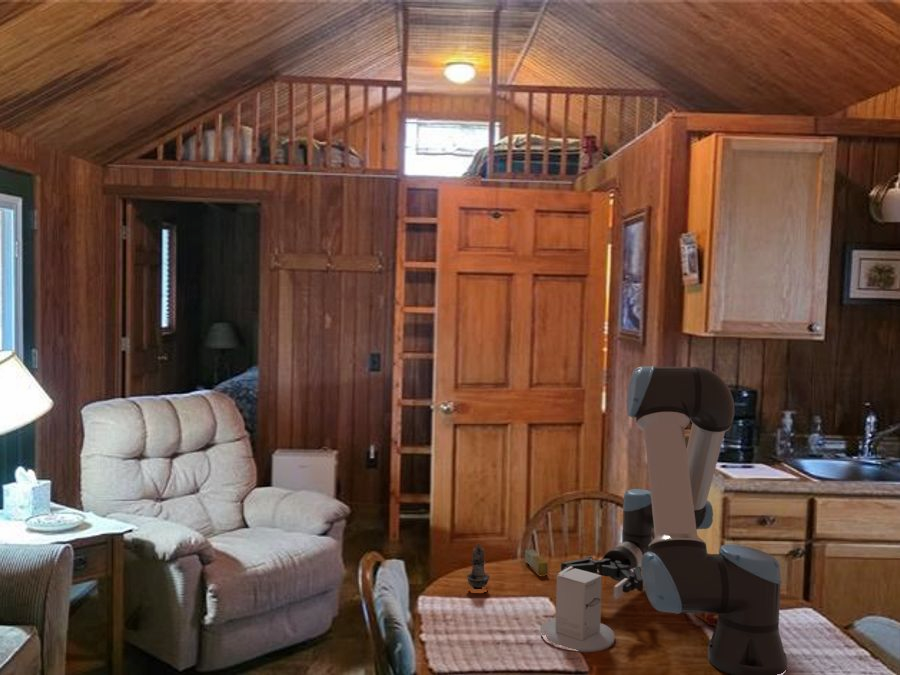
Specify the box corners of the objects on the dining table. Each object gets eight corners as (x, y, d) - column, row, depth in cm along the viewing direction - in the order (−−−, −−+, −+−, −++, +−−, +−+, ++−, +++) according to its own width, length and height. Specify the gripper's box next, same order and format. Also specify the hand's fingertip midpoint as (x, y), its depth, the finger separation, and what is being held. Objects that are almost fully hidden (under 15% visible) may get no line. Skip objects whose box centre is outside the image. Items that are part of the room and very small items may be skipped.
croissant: (693, 610, 199) (678, 581, 200) (731, 595, 198) (716, 565, 198) (705, 644, 179) (689, 611, 179) (747, 627, 177) (730, 594, 177)
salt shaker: (490, 586, 204) (490, 540, 204) (488, 595, 198) (489, 547, 198) (467, 585, 205) (467, 539, 204) (465, 593, 199) (466, 546, 198)
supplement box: (583, 641, 169) (584, 583, 169) (554, 631, 174) (555, 574, 174) (601, 631, 175) (603, 574, 174) (573, 622, 180) (574, 566, 179)
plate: (630, 642, 172) (630, 637, 172) (572, 658, 163) (572, 653, 163) (581, 616, 185) (581, 612, 185) (525, 630, 177) (525, 625, 177)
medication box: (524, 563, 224) (524, 549, 224) (533, 562, 225) (533, 548, 225) (538, 577, 212) (538, 562, 212) (548, 576, 213) (548, 562, 213)
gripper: (671, 587, 189) (639, 615, 172) (575, 566, 203) (536, 590, 186) (672, 556, 189) (640, 581, 171) (576, 537, 203) (537, 558, 185)
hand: (586, 586), depth 178 cm, fingers open, 13 cm apart
